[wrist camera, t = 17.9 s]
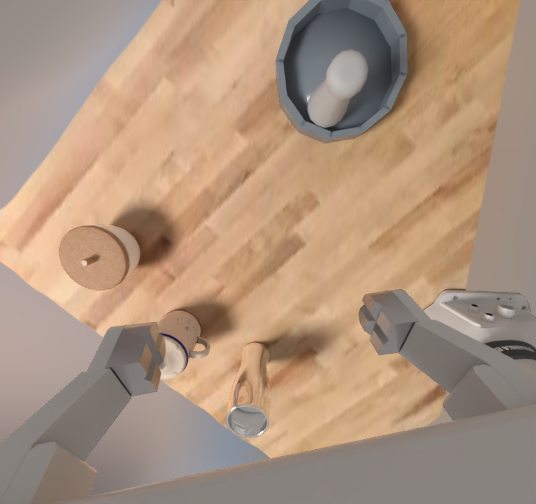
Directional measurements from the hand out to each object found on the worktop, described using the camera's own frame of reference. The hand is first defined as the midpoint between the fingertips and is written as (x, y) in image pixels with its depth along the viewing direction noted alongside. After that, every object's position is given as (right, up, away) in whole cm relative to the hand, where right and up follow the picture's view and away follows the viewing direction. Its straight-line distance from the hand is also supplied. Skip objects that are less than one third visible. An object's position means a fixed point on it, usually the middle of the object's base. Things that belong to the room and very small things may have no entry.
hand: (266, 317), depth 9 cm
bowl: (+11, +30, +27) cm, 41 cm away
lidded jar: (-28, +3, +35) cm, 45 cm away
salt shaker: (+9, +25, +27) cm, 38 cm away
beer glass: (-3, -19, +41) cm, 45 cm away
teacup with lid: (-17, -13, +40) cm, 45 cm away
